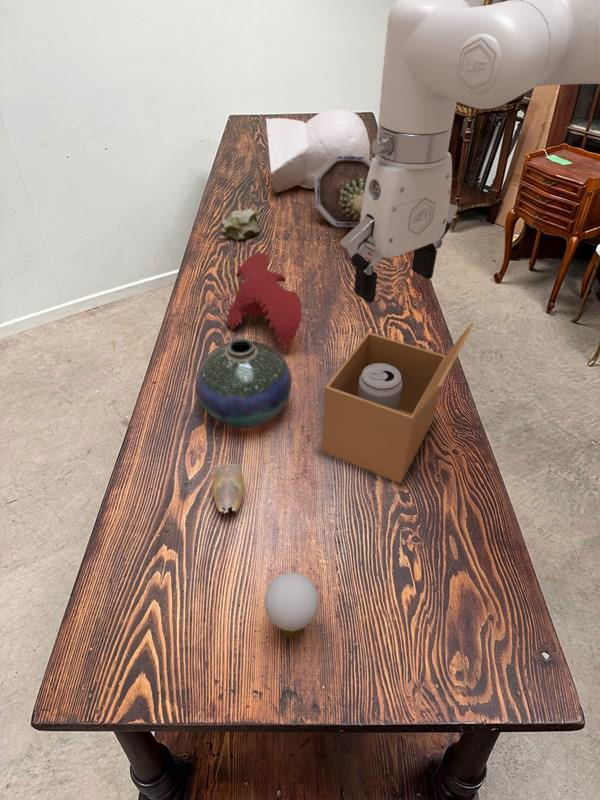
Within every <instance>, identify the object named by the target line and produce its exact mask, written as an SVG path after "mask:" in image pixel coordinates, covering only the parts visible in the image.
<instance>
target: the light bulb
mask: <svg viewBox="0 0 600 800" xmlns="http://www.w3.org/2000/svg"><path fill="white" fill-rule="evenodd" d="M263 600H264V601H263V603H264V605H263V606H264V610H265V613H266V615H267V617H268V619H269V620H270V622H271V623H272V624H273V625H275V626H276V627H277V628H279V629H280V630H281V633H282V634H283V635H284V636H285V637H287V638H291V639H293V638H297V637H298V636H300V635H301V634H302V632H303V630H304V628H305V627H307V626H308V625H309V624H310V623H311V622H312V621H313V620H314V618H315V616H316V615H317V612H318V609H319V596H318V591H317V589H316V586H315V585H314V584H313V582H312V581H311V580H310V579H309V578H308V577H306V576H305V575H303V574H300V573H298V572H286V573H282V574H280V575H279V576H277V577H275V578H274V579H272V581H271V582H270V584H269V585H268V587H267V588H266V591H265V594H264V599H263Z"/></svg>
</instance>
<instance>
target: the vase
mask: <svg viewBox="0 0 600 800" xmlns="http://www.w3.org/2000/svg"><path fill="white" fill-rule="evenodd" d="M292 384H293V378H292V372H291V369H290V367H289V364H288V363H287V360H286V359H285V358H284V356H283V355H282V354H280V352H279V351H277V350H275V348H273V347H271V346H269V345H268V344H264V343H262V342H258V341H253V340H249V339H247V338H238V339H234V340H232V341H230V342H228V343H224V344H222V345H220V346H218V347H216V348H215V349H213V350H211V352H209V353H208V354H207V355H206V357H205V358H204V359H203V360H202V361H201V363H200V365H199V367H198V369H197V373H196V377H195V391H196V395H197V398H198V400H199V402H200V404H201V406H202V408H203V409H204V410H205V412H206V413H207V414H208V415H209V416H210V417H212V419H214V420H215V421H217V422H219V423H220V424H222V425H224V426H228V427H231V428H236V429H237V428H238V429H250V428H256V427H259V426H262V425H264V424H267V423H269V422H270V421H272V420H273V419H274V418H276V417H277V416H278V415H279V414H280V413H281V412H282V411H283V409H284V408H285V406H286V405H287V403H288V401H289V398H290V395H291V392H292Z"/></svg>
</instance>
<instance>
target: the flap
mask: <svg viewBox="0 0 600 800" xmlns="http://www.w3.org/2000/svg"><path fill="white" fill-rule="evenodd" d="M474 325H475V324H474V323H473V322H471V323H470V324H469V325H468V326H467V328H466V329H465V330H464V332H463V333H462V334H461V336H459V338H458V339H457V341H456V342H454V344H453V345H452V347H450V349H449V351H448V352H447V353H446V354H445V356H446V357H445V359H444V361H443V362H442V364H441V366H440V368H439V370H438V371H437V373H436V375H435V377H434V379H433V380H432V382H431V384H430V386H429V388H428V389H427V391H426V393H425V395H424V397H423V398H422V400H421V402H420V404H419V406H418V407H417V409H416V411H415V413H414V415H415V416H417V414H418V413H419V412H420V411H421V410H422V408H423V407H424V406H425V405H426V404H427V402H428V401H429V400H430V399H431V398H432V397H433V395H434V394H435V393H436V392H437V391H438V389H439V388H440V387H441V388H442V385H443V383H444V381H445V380H446V378H447V375H448V374H449V372H450V370H451V368H452V366H453V365H454V363H455V361H456V359H457V357H458V355H459V353H460V352H461V350H462V348H463V346H464V344H465V342H466V340H467V338H468V336H469V334H470V332H471V331H472V329H473V327H474Z"/></svg>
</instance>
